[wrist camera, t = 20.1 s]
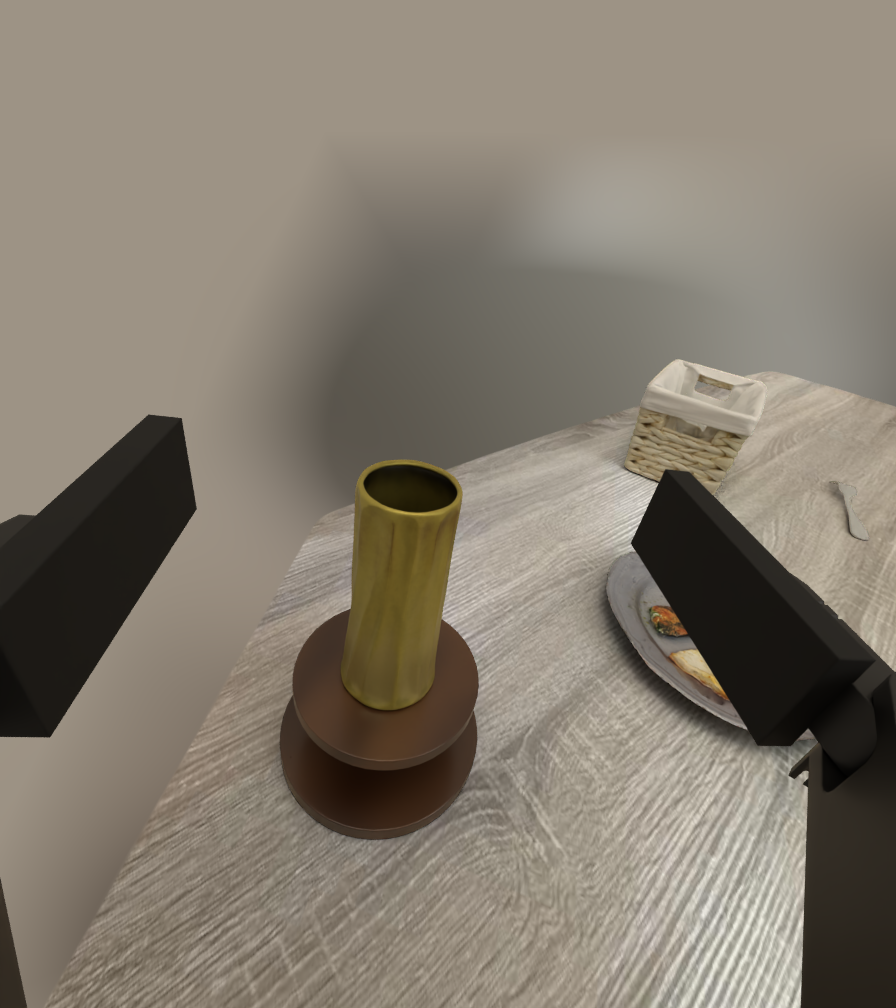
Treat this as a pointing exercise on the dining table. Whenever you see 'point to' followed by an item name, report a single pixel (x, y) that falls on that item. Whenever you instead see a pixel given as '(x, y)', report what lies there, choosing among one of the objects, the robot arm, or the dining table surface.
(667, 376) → the basket
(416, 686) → the vase
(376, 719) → the stand
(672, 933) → the dining table surface
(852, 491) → the fork
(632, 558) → the food plate
